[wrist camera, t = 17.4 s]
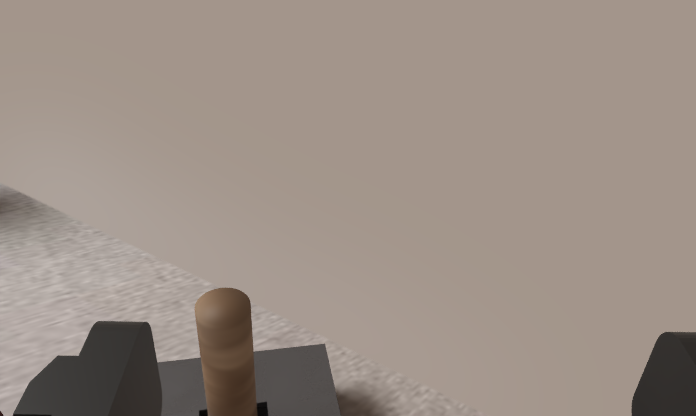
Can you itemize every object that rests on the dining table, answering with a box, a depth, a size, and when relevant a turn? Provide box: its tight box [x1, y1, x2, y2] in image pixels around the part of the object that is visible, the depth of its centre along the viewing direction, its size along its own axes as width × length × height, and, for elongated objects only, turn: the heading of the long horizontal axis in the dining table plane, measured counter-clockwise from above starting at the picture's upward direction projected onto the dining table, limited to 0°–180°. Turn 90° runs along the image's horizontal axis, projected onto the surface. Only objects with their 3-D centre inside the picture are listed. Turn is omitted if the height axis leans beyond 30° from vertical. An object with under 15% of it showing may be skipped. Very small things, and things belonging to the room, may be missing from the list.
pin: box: [195, 288, 257, 416], centre depth 39 cm, size 3×3×16 cm
